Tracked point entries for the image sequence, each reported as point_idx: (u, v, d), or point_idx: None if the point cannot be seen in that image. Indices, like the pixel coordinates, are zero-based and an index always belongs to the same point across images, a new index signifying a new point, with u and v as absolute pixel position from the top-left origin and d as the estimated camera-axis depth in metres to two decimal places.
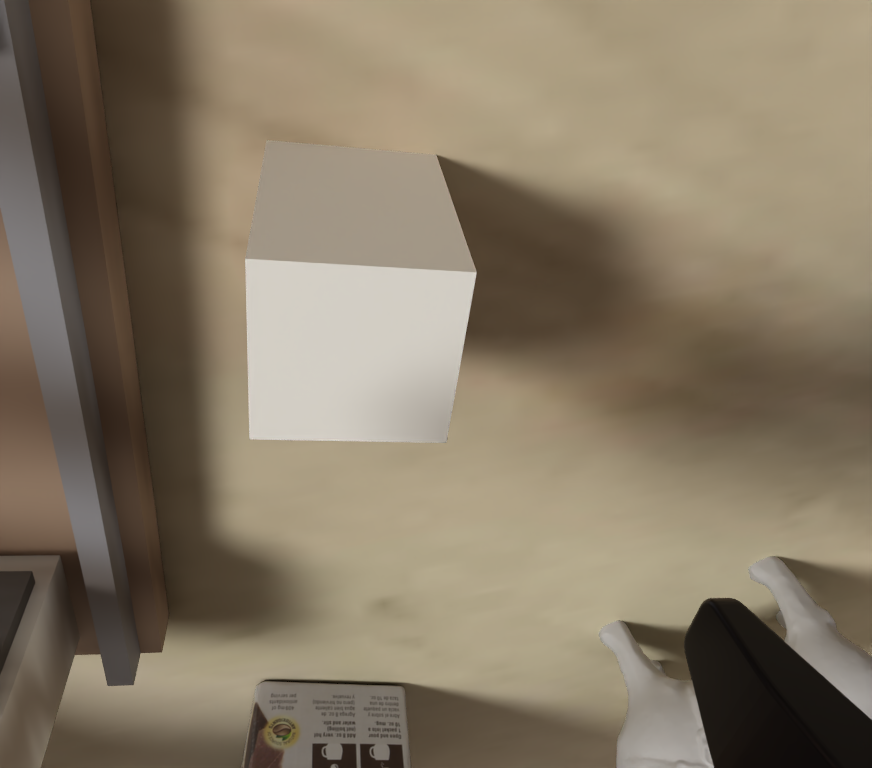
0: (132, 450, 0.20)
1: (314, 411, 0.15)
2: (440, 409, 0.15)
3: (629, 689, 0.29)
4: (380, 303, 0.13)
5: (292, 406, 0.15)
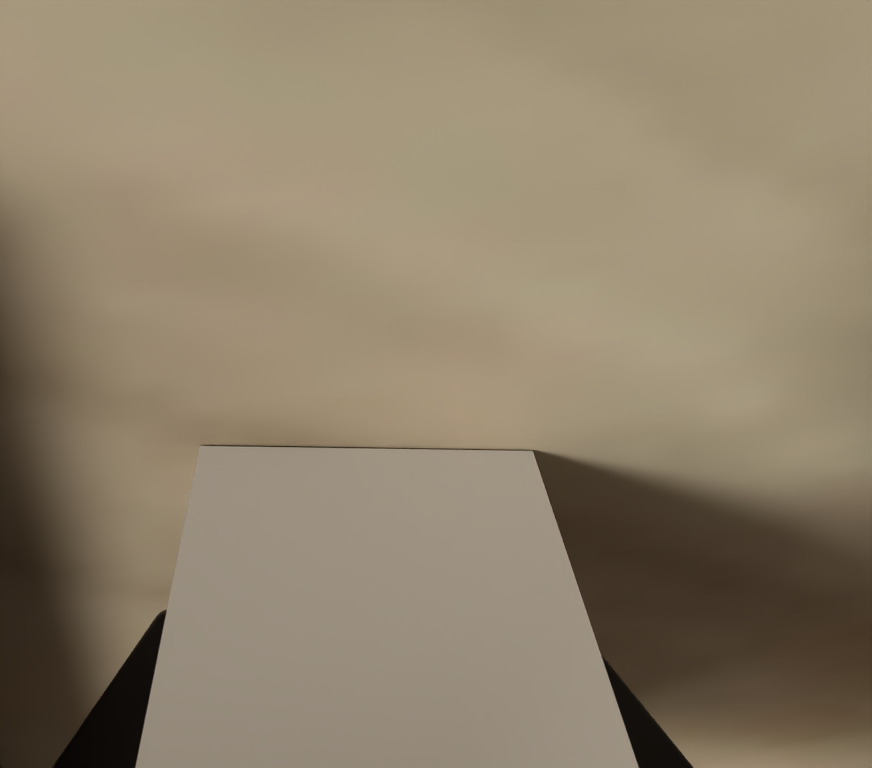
0: None
1: None
2: None
3: None
4: None
5: None
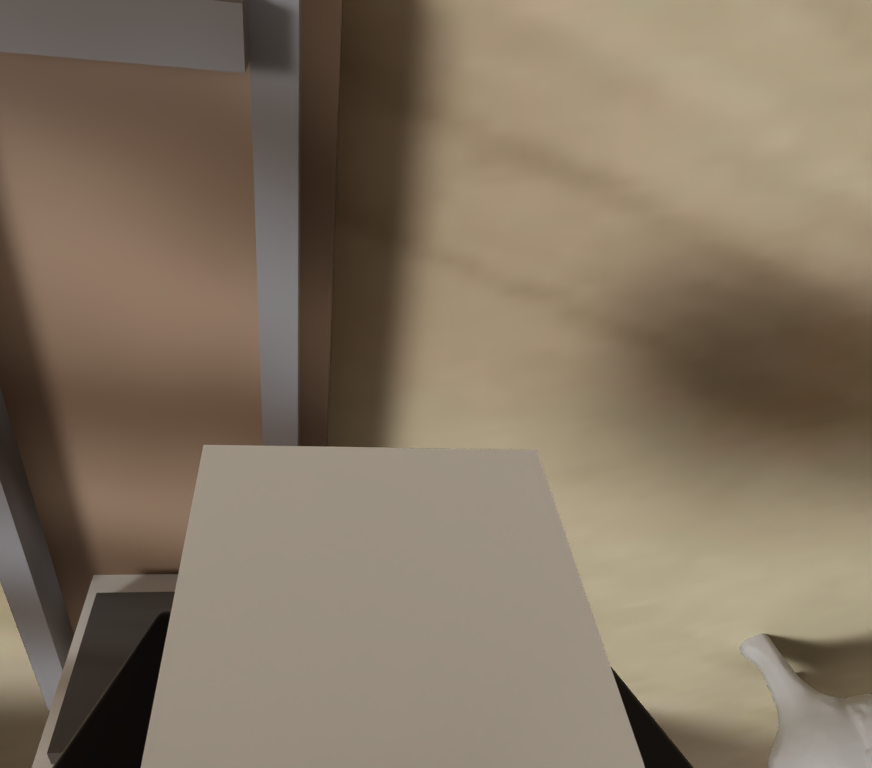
0: None
1: None
2: None
3: (780, 705, 0.28)
4: None
5: None
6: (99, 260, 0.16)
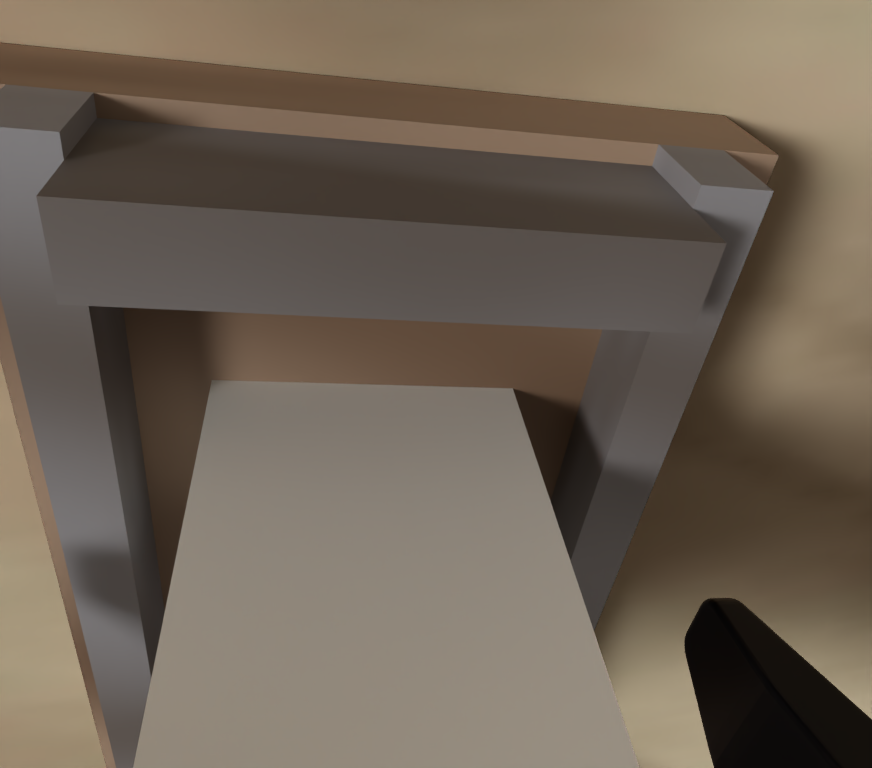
0: None
1: None
2: None
3: None
4: None
5: None
6: None
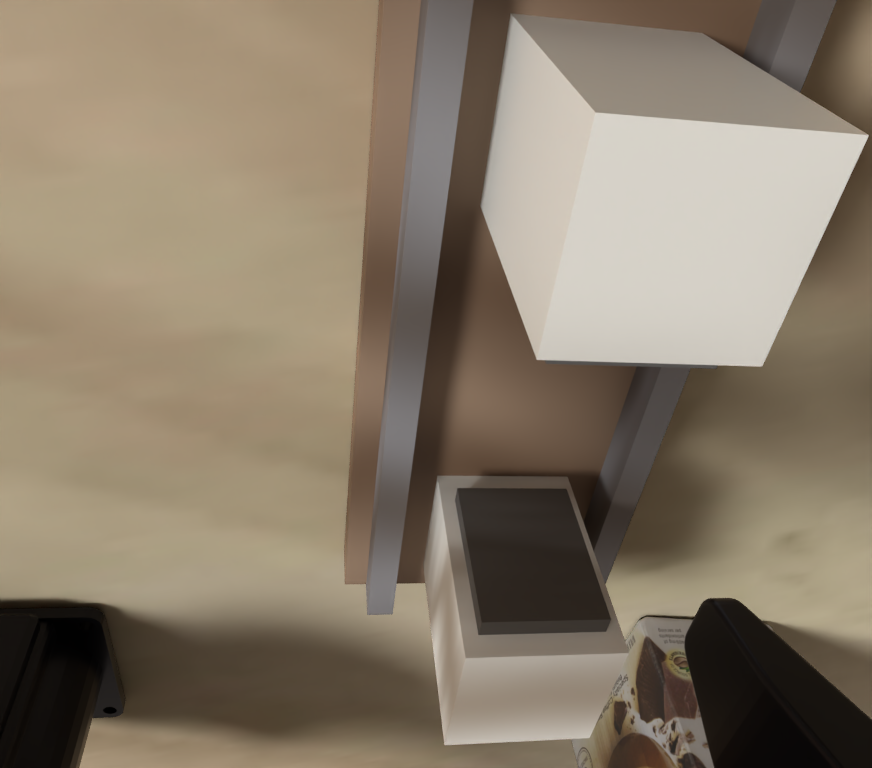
0: None
1: (622, 324, 0.12)
2: (768, 323, 0.12)
3: None
4: (740, 178, 0.11)
5: (598, 317, 0.12)
6: None
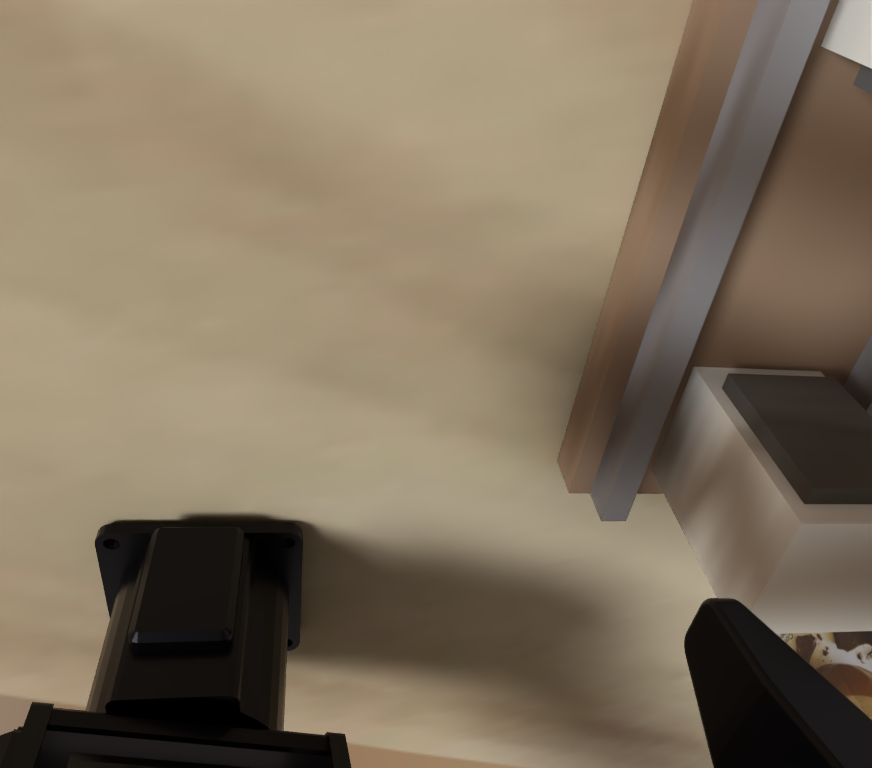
0: None
1: None
2: None
3: None
4: None
5: None
6: None
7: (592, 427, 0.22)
